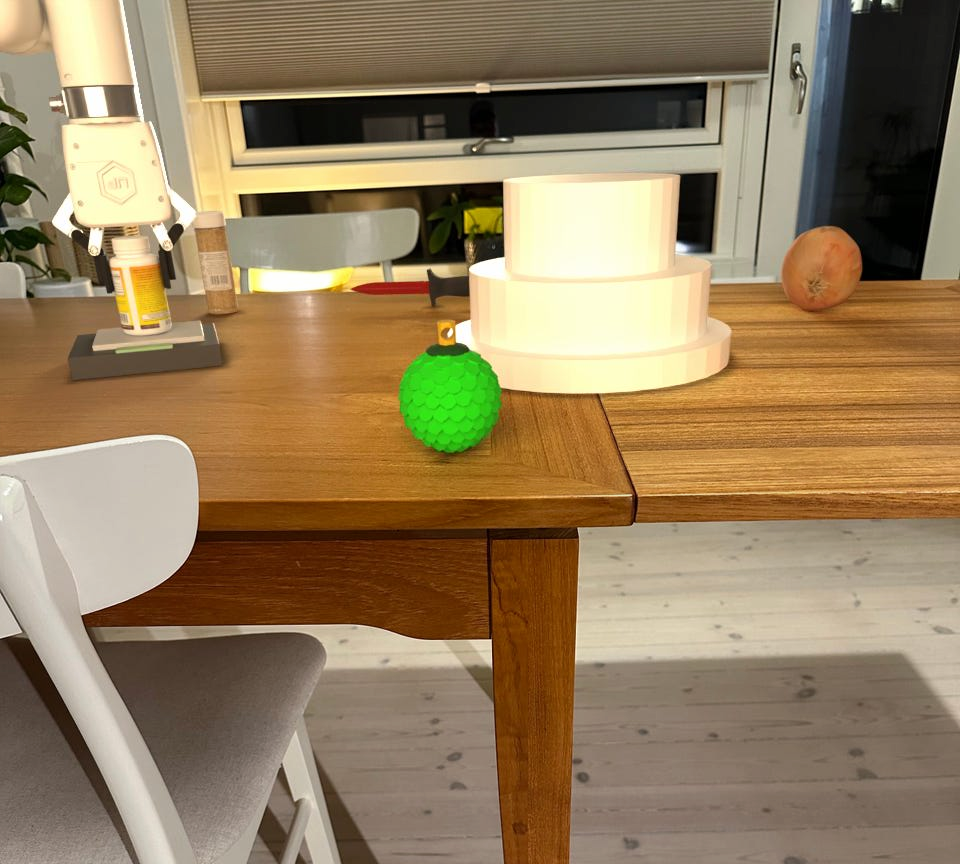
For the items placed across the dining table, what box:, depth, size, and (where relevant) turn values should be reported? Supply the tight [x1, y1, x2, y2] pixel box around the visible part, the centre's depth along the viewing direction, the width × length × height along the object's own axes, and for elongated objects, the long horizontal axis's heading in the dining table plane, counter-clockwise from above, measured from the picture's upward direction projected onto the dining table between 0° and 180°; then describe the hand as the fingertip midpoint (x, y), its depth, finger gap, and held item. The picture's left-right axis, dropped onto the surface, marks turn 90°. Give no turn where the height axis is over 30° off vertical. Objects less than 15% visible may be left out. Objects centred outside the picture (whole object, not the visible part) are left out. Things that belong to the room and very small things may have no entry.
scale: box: [67, 320, 224, 381], centre depth 111 cm, size 16×14×3 cm
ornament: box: [397, 319, 503, 453], centre depth 74 cm, size 8×8×10 cm
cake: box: [447, 172, 732, 394], centre depth 99 cm, size 30×30×18 cm
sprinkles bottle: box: [191, 210, 240, 315], centre depth 136 cm, size 5×5×14 cm
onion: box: [780, 225, 863, 312], centre depth 121 cm, size 10×10×10 cm
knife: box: [349, 268, 470, 307], centre depth 136 cm, size 24×2×5 cm, turn 84°
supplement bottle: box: [109, 235, 173, 336], centre depth 108 cm, size 6×6×10 cm
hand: (139, 287), depth 109 cm, fingers closed on supplement bottle, 5 cm apart
